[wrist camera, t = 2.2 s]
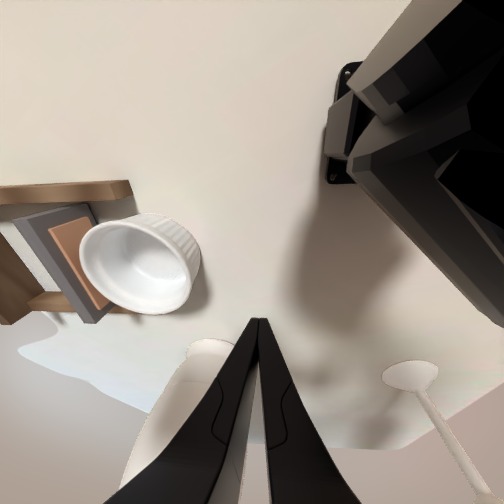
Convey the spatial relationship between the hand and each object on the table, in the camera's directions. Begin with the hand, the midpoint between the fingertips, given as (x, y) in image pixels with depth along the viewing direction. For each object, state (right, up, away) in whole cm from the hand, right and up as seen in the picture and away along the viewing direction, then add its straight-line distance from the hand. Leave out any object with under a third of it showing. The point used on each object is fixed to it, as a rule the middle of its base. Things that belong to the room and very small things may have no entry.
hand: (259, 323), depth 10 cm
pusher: (-15, +4, +9) cm, 18 cm away
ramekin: (-9, +4, +9) cm, 13 cm away
